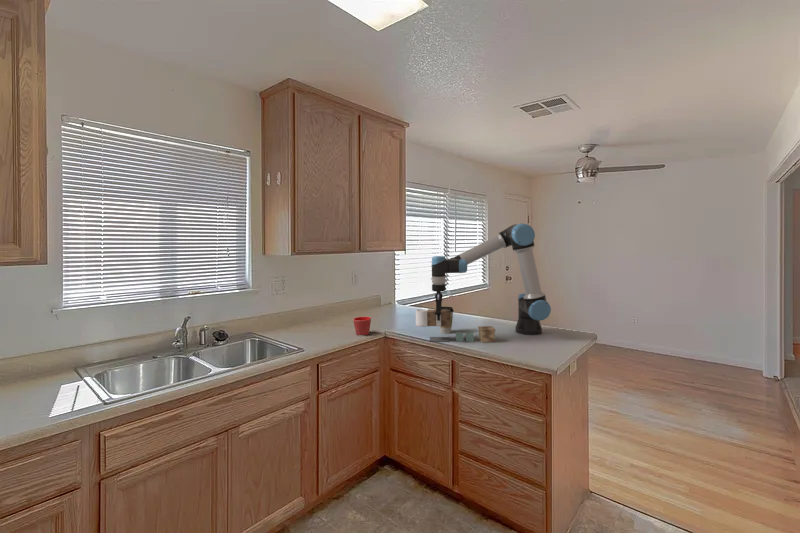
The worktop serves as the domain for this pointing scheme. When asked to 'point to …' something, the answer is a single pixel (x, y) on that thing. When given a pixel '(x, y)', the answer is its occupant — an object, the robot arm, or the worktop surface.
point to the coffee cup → (448, 328)
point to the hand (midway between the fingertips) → (439, 324)
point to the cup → (421, 317)
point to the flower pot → (362, 325)
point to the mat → (439, 339)
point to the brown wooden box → (444, 317)
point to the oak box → (486, 334)
